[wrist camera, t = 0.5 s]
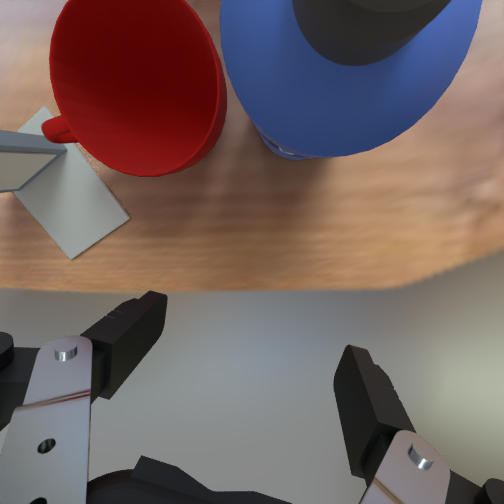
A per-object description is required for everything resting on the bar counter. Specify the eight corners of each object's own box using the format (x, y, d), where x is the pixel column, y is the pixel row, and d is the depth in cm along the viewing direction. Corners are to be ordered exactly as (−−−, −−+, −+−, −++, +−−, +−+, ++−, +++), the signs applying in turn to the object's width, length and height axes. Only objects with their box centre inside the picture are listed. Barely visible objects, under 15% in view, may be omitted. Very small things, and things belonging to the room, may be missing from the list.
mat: (-11, 161, 32) (-15, 161, 31) (46, 106, 29) (43, 105, 29) (72, 258, 35) (70, 259, 35) (131, 218, 33) (129, 218, 32)
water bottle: (335, 164, 29) (622, 164, 5) (252, 158, 29) (157, 133, 5) (351, 65, 25) (1311, -1163, 2) (258, 61, 26) (103, -943, 2)
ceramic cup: (73, 82, 28) (-29, 40, 19) (215, 18, 25) (180, -69, 16) (124, 196, 32) (61, 210, 22) (254, 153, 29) (244, 147, 19)
